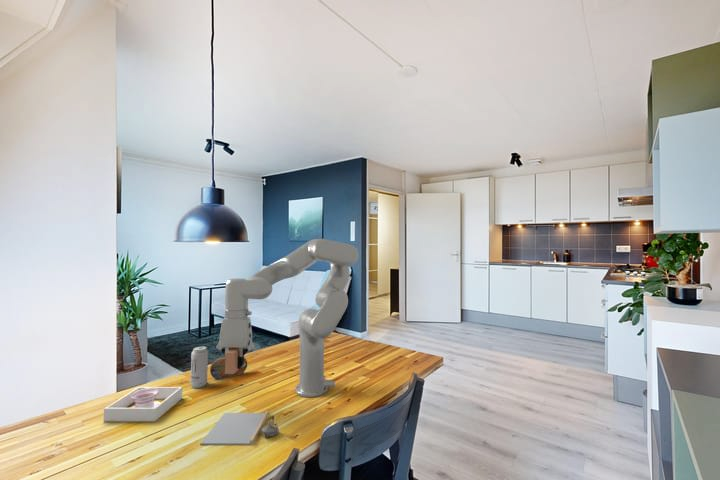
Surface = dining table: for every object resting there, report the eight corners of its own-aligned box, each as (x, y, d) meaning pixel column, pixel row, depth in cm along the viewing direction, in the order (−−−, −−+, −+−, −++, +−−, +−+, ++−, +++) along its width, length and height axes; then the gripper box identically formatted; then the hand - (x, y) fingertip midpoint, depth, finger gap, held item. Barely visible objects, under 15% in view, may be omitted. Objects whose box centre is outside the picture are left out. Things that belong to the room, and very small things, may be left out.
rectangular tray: (182, 398, 119) (182, 387, 119) (154, 421, 102) (155, 408, 103) (137, 398, 118) (138, 387, 118) (103, 421, 102) (103, 408, 102)
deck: (243, 364, 116) (244, 345, 116) (233, 374, 107) (234, 352, 107) (235, 364, 116) (236, 344, 116) (224, 373, 107) (225, 352, 107)
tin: (210, 381, 134) (210, 360, 135) (209, 378, 137) (209, 358, 137) (247, 374, 142) (247, 354, 143) (245, 371, 145) (246, 353, 145)
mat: (268, 414, 107) (268, 410, 108) (252, 444, 90) (252, 440, 91) (224, 414, 107) (224, 410, 107) (200, 444, 90) (200, 440, 90)
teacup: (171, 409, 111) (171, 391, 111) (131, 424, 101) (131, 404, 101) (154, 400, 117) (155, 382, 117) (115, 413, 107) (116, 395, 107)
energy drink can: (187, 387, 128) (188, 349, 129) (200, 381, 134) (201, 345, 134) (196, 390, 125) (197, 351, 126) (210, 384, 131) (211, 347, 131)
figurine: (261, 440, 92) (264, 418, 93) (259, 433, 96) (262, 412, 97) (279, 439, 94) (282, 417, 95) (277, 432, 98) (280, 411, 99)
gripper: (262, 312, 116) (261, 364, 115) (218, 311, 116) (216, 363, 115) (255, 316, 108) (254, 371, 108) (208, 315, 109) (206, 370, 108)
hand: (234, 366), depth 111 cm, fingers closed on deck, 3 cm apart
